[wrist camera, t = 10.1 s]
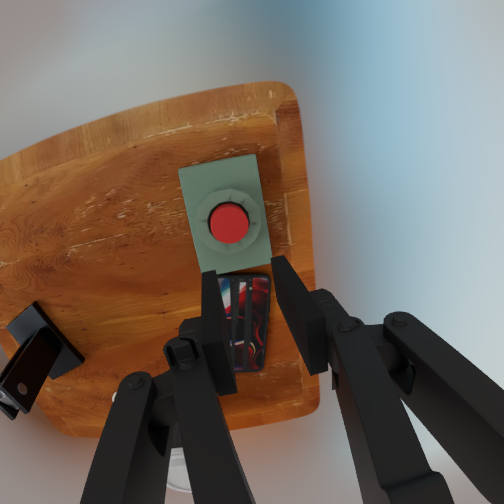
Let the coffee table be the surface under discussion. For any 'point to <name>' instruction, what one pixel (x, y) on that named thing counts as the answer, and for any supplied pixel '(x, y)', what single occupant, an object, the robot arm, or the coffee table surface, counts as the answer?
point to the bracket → (34, 359)
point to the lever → (7, 400)
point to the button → (229, 223)
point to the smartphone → (246, 317)
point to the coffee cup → (178, 466)
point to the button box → (219, 193)
